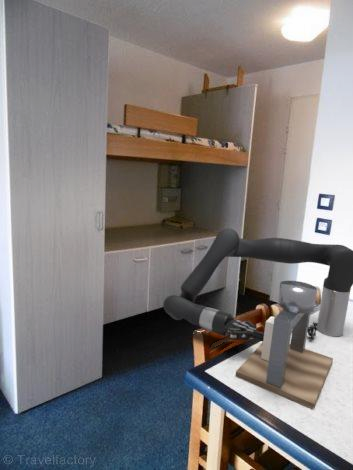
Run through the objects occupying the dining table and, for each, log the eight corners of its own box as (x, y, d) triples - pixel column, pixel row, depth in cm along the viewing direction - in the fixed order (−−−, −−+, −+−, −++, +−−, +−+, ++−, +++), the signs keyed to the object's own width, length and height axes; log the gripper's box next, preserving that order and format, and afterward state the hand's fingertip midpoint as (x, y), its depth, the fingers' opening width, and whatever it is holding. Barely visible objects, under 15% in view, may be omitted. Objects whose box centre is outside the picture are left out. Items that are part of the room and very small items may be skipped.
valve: (277, 331, 122) (310, 343, 115) (279, 315, 121) (313, 325, 114) (284, 326, 128) (316, 336, 120) (286, 310, 126) (318, 320, 119)
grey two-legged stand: (283, 342, 111) (293, 273, 107) (314, 352, 106) (325, 280, 101) (255, 378, 90) (265, 293, 85) (292, 393, 84) (305, 304, 80)
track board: (267, 340, 115) (268, 336, 114) (332, 362, 103) (333, 358, 103) (235, 376, 93) (236, 371, 92) (313, 409, 81) (314, 404, 81)
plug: (266, 351, 104) (271, 316, 101) (286, 358, 100) (291, 322, 98) (261, 358, 100) (265, 321, 97) (281, 365, 96) (286, 327, 94)
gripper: (207, 316, 104) (259, 334, 95) (225, 305, 115) (274, 319, 105) (205, 338, 105) (257, 358, 96) (223, 324, 116) (271, 341, 107)
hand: (266, 338), depth 101 cm, fingers closed
